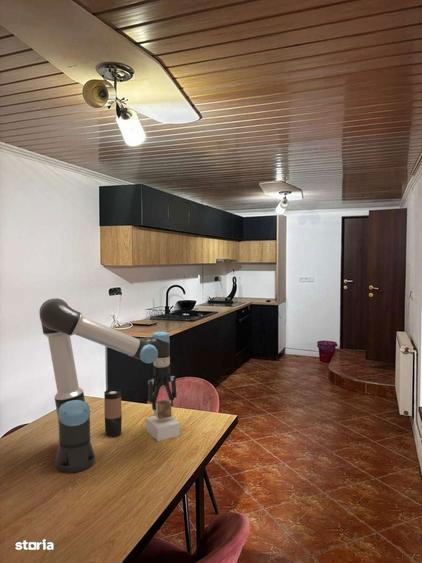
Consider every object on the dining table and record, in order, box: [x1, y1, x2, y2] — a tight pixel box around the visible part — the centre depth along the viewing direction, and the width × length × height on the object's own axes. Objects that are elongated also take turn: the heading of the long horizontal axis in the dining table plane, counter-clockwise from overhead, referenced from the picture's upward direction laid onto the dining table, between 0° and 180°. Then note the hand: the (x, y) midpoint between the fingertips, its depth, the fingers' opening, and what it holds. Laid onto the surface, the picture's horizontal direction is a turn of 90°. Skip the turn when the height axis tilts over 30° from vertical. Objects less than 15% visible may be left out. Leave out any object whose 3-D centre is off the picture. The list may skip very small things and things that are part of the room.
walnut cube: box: [156, 399, 173, 419], centre depth 186 cm, size 6×6×6 cm
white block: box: [145, 415, 181, 442], centre depth 186 cm, size 11×14×6 cm
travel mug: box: [103, 388, 123, 438], centre depth 185 cm, size 8×8×20 cm
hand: (162, 414), depth 186 cm, fingers closed on walnut cube, 6 cm apart
